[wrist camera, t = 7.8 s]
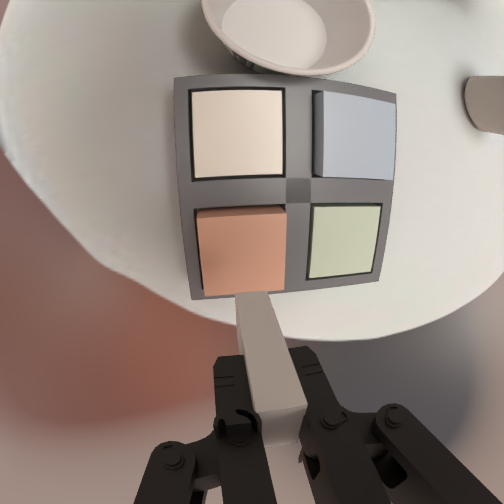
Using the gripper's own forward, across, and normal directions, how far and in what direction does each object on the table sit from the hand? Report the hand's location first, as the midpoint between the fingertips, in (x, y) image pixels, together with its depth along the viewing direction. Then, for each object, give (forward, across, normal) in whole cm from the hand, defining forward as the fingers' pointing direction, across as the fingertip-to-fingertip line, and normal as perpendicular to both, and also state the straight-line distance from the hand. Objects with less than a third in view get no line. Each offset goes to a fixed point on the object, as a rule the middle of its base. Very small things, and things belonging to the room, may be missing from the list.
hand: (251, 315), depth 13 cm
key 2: (+9, 0, 0) cm, 9 cm away
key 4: (+10, 0, +9) cm, 13 cm away
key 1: (+10, +9, 0) cm, 14 cm away
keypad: (+12, +5, +4) cm, 14 cm away
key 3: (+9, +9, +9) cm, 15 cm away
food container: (+12, +4, +18) cm, 22 cm away
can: (+12, +31, +17) cm, 37 cm away
